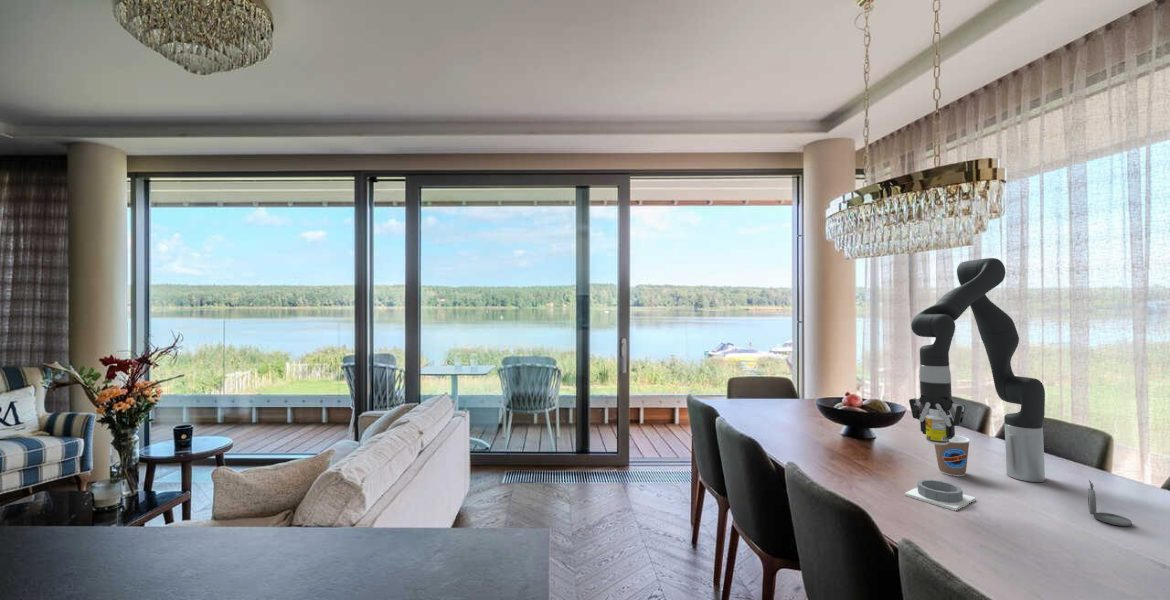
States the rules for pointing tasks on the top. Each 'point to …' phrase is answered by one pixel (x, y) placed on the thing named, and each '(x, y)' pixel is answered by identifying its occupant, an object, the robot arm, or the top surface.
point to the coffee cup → (953, 456)
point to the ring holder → (940, 494)
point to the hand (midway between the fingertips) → (937, 435)
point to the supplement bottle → (936, 428)
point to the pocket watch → (1104, 516)
